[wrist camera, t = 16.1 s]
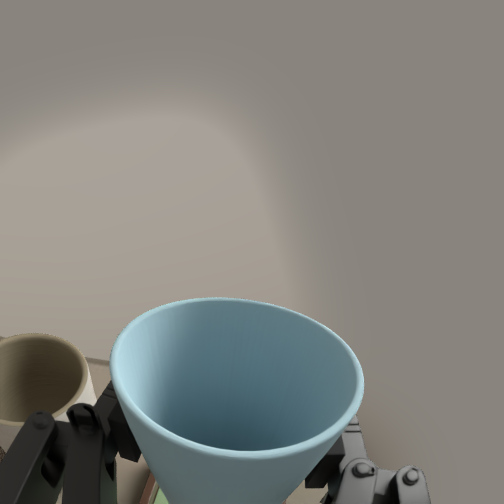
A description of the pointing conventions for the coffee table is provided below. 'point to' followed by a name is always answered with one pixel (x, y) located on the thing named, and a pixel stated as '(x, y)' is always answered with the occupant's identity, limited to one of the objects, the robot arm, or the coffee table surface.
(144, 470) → the coffee table surface
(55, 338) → the planter
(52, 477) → the robot arm
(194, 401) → the cup
